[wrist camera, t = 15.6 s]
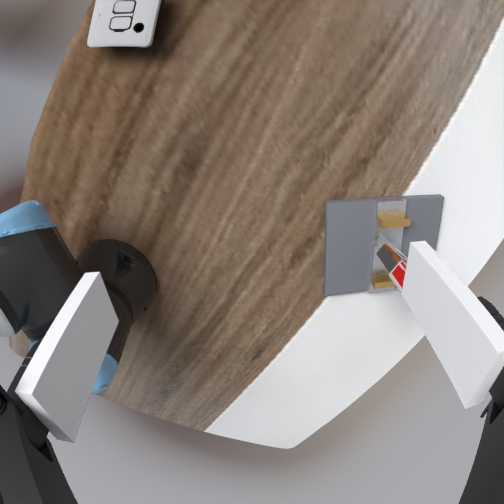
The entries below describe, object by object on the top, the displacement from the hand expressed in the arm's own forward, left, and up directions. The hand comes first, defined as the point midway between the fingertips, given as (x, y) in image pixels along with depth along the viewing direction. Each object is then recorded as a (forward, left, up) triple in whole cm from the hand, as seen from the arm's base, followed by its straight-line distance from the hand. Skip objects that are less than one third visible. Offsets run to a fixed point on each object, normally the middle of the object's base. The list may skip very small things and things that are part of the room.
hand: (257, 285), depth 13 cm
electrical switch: (-10, +20, -35) cm, 42 cm away
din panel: (+22, -19, -35) cm, 45 cm away
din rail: (+22, -19, -33) cm, 43 cm away
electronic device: (+22, -19, -33) cm, 43 cm away
